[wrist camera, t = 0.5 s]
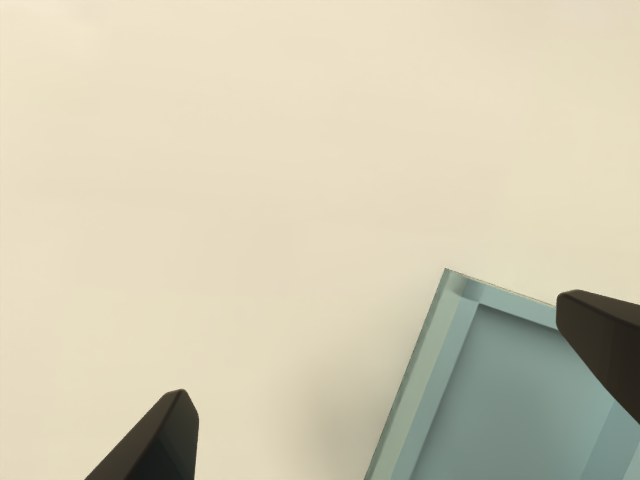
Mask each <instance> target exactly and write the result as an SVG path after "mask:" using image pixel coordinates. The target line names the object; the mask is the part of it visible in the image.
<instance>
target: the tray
mask: <svg viewBox="0 0 640 480" xmlns="http://www.w3.org/2000/svg"><path fill="white" fill-rule="evenodd" d="M364 480H640V425H639V424H638V423H637V422H636V421H635V420H634V419H633V418H632V417H631V416H630V414H629V413H628V412H627V411H626V410H625V409H624V408H623V407H622V406H621V405H620V404H619V403H618V402H617V401H616V400H615V399H614V398H613V397H612V396H611V394H610V393H609V392H608V391H607V390H606V389H605V388H604V387H603V385H602V384H601V383H600V382H599V381H598V380H597V378H596V377H595V376H594V375H593V373H592V372H591V371H590V370H589V368H588V367H587V366H586V365H585V363H584V362H583V361H582V360H581V358H580V357H579V356H578V355H577V353H576V352H575V351H574V350H573V348H572V347H571V346H570V345H569V343H568V342H567V341H566V340H565V338H564V337H563V336H562V335H561V333H560V332H559V330H558V328H557V326H556V306H553V305H550V304H547V303H544V302H542V301H539V300H536V299H533V298H530V297H527V296H524V295H521V294H518V293H516V292H513V291H510V290H507V289H504V288H501V287H498V286H495V285H492V284H490V283H487V282H484V281H481V280H478V279H475V278H472V277H469V276H467V275H464V274H461V273H458V272H455V271H452V270H449V269H446V268H445V270H444V273H443V275H442V278H441V281H440V283H439V286H438V288H437V291H436V294H435V296H434V299H433V301H432V304H431V307H430V309H429V312H428V314H427V317H426V320H425V322H424V325H423V328H422V330H421V333H420V335H419V338H418V341H417V343H416V346H415V348H414V351H413V354H412V356H411V359H410V361H409V364H408V367H407V369H406V372H405V374H404V377H403V380H402V382H401V385H400V387H399V390H398V393H397V395H396V398H395V400H394V403H393V406H392V408H391V411H390V414H389V416H388V419H387V421H386V424H385V427H384V429H383V432H382V434H381V437H380V440H379V442H378V445H377V447H376V450H375V453H374V455H373V458H372V460H371V463H370V466H369V468H368V471H367V473H366V476H365V479H364Z"/></svg>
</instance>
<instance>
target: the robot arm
mask: <svg viewBox="0 0 640 480" xmlns="http://www.w3.org/2000/svg"><path fill="white" fill-rule="evenodd" d="M556 326H557V328H558V330H559V332H560V333H561V335H562V336H563V337H564V338H565V340H566V341H567V342H568V343H569V345H570V346H571V347H572V348H573V350H574V351H575V352H576V353H577V355H578V356H579V357H580V358H581V360H582V361H583V362H584V363H585V365H586V366H587V367H588V368H589V370H590V371H591V372H592V373H593V375H594V376H595V377H596V378H597V380H598V381H599V382H600V383H601V384H602V385H603V387H604V388H605V389H606V390H607V391H608V392H609V393H610V394H611V396H612V397H613V398H614V399H615V400H616V401H617V402H618V403H619V404H620V405H621V406H622V407H623V408H624V409H625V410H626V411H627V412H628V413H629V414H630V416H631V417H632V418H633V419H634V420H635V421H636V422H637V423H638V424H639V425H640V305H637V304H633V303H629V302H626V301H622V300H618V299H614V298H610V297H606V296H602V295H598V294H594V293H590V292H586V291H583V290H571V291H567V292H563V293H560V294H559V295H558V297H557V303H556ZM198 430H199V416H198V413H197V410H196V408H195V407H194V405H193V403H192V401H191V399H190V397H189V395H188V393H187V392H186V390H184V389H178V390H174V391H171V392H167V393H166V394H164V395H163V396H162V397H161V398H160V399H159V401H158V402H157V403H156V404H155V405H154V406H153V407H152V408H151V409H150V410H149V411H148V412H147V413H146V414H145V415H144V417H143V418H142V419H141V420H140V421H139V422H138V423H137V424H136V425H135V426H134V427H133V428H132V429H131V430H130V431H129V433H128V434H127V435H126V436H125V437H124V438H123V439H122V440H121V441H120V442H119V443H118V444H117V445H116V446H115V447H114V449H113V450H112V451H111V452H110V453H109V454H108V455H107V456H106V457H105V458H104V459H103V460H102V461H101V462H100V463H99V465H98V466H97V467H96V468H95V469H94V470H93V471H92V472H91V473H90V474H89V475H88V476H87V477H86V478H85V479H84V480H194V476H195V464H196V453H197V441H198Z"/></svg>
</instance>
